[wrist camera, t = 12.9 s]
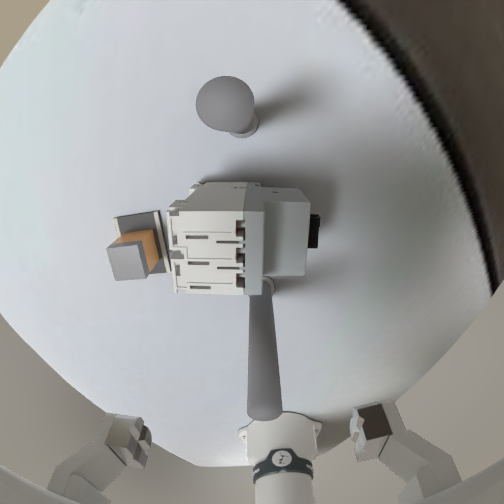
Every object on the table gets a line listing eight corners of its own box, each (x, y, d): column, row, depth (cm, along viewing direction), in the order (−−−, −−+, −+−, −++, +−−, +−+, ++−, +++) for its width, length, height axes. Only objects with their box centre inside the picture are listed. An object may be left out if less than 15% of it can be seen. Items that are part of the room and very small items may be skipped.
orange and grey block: (159, 259, 40) (145, 278, 35) (131, 261, 41) (115, 280, 35) (152, 229, 39) (137, 245, 33) (124, 232, 39) (106, 248, 33)
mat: (171, 270, 42) (170, 272, 41) (129, 274, 42) (128, 275, 41) (158, 210, 38) (157, 211, 38) (114, 217, 39) (113, 218, 38)
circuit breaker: (304, 238, 40) (329, 294, 26) (198, 236, 40) (171, 292, 26) (307, 183, 37) (339, 214, 23) (196, 182, 37) (163, 211, 23)
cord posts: (275, 298, 43) (288, 422, 23) (248, 300, 43) (244, 425, 23) (256, 105, 33) (259, 63, 13) (223, 109, 33) (182, 74, 13)
